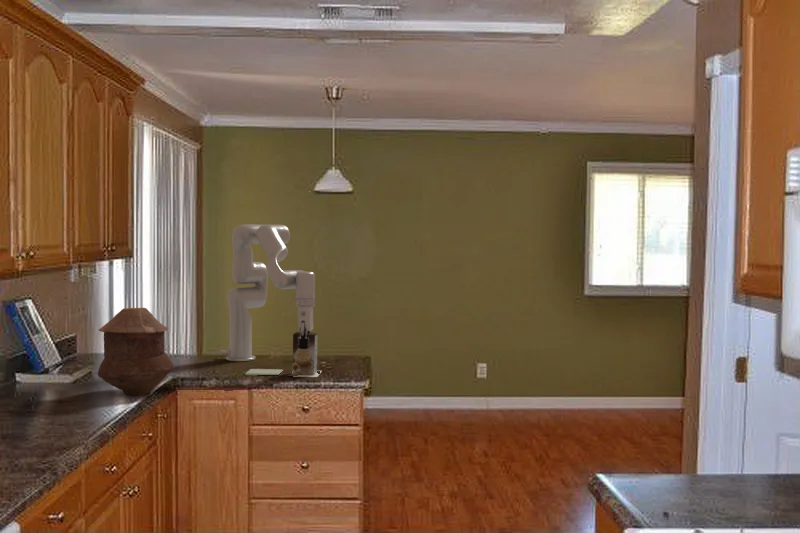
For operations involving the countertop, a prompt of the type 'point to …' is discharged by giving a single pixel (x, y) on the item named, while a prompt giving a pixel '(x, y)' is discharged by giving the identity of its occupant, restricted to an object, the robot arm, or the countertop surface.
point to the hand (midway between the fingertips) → (304, 347)
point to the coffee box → (305, 355)
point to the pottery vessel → (134, 352)
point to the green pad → (264, 372)
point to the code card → (308, 375)
